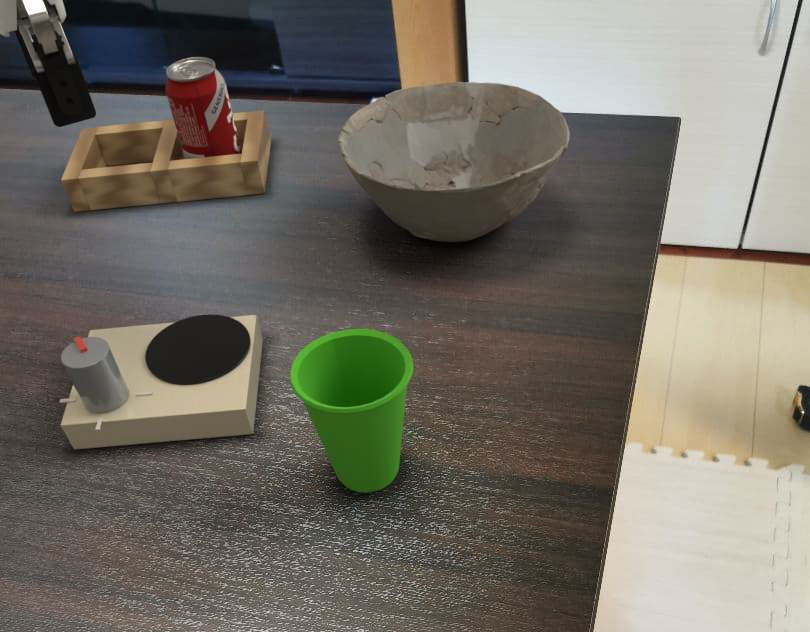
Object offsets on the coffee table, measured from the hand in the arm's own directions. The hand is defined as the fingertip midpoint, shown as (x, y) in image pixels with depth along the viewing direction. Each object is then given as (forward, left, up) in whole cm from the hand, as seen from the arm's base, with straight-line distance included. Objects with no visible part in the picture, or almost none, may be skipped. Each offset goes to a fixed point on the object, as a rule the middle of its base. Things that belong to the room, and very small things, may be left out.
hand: (64, 96), depth 66 cm
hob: (+3, -10, -23) cm, 25 cm away
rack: (-2, +30, -23) cm, 38 cm away
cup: (+21, -22, -23) cm, 38 cm away
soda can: (+3, +30, -23) cm, 38 cm away
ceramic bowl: (+31, +14, -23) cm, 41 cm away
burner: (+6, -8, -20) cm, 22 cm away
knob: (-1, -13, -20) cm, 24 cm away
